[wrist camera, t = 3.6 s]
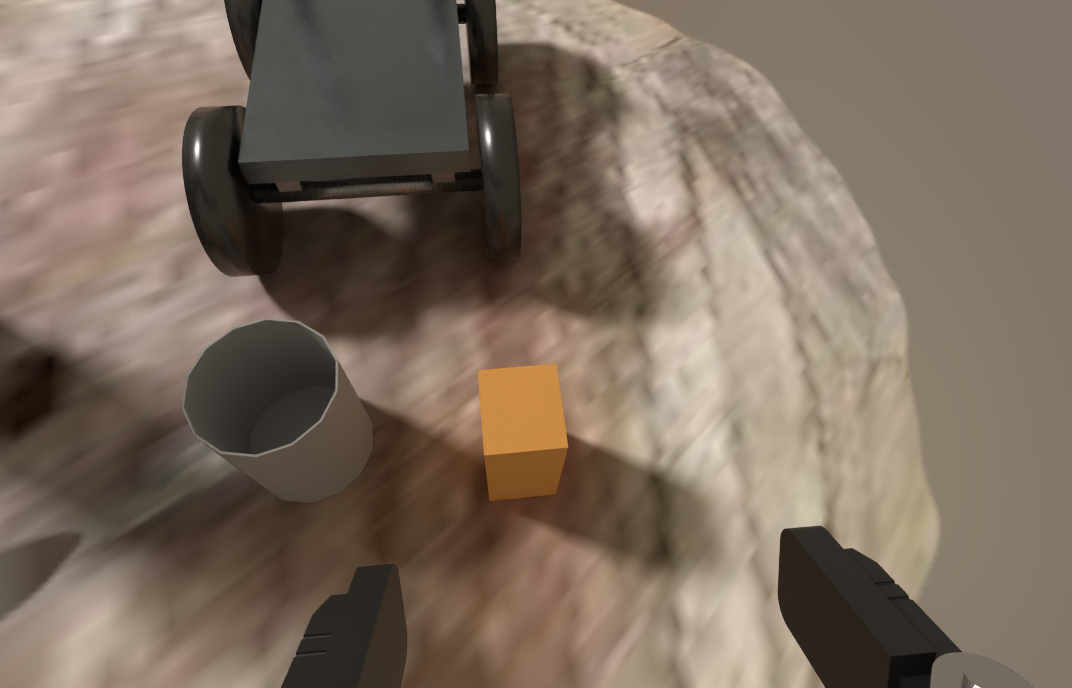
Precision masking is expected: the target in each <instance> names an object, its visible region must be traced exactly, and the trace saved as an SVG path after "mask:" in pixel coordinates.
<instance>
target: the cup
mask: <svg viewBox="0 0 1072 688" xmlns="http://www.w3.org/2000/svg"><path fill="white" fill-rule="evenodd" d="M182 410H183V412H184V415H185V417H186V419H187V422H188V424H189V426H190V429H191V431H192V433H193V435H194V436H195V437H196V438H197V439H199V440H200V441H201V442H203V443H204V444H205V445H207V446H208V447H209V448H211V449H212V450H213V451H215V452H216V453H218V454H219V455H220V456H222V457H223V458H224V459H226V460H227V461H228V462H230V463H231V464H232V465H234V466H235V467H236V468H238V469H239V470H240V471H242V472H243V473H244V474H246V475H247V476H249V477H250V478H251V479H253V480H254V481H255V482H257V483H258V484H259V485H261V486H262V487H264V488H265V489H267V490H268V491H270V492H271V493H273V494H274V495H275V496H277V497H278V498H280V499H281V500H283V501H293V502H304V503H313V502H316V501H319V500H322V499H325V498H327V497H330V496H333V495H336V494H339V493H340V492H341V491H343V490H344V489H345V488H346V487H347V486H348V485H349V484H350V483H351V482H353V481H354V480H355V479H356V478H357V477H358V476H359V475H360V474H361V473H362V471H363V469H364V467H365V465H366V463H367V461H368V458H369V456H370V454H371V452H372V450H373V423H372V421H371V419H370V417H369V416H368V414H367V412H366V410H365V408H364V407H363V405H362V403H361V401H360V399H359V397H358V396H357V394H356V392H355V390H354V388H353V387H352V385H351V383H350V381H349V379H348V378H347V376H346V374H345V372H344V370H343V369H342V367H341V365H340V363H339V361H338V360H337V358H336V356H335V354H334V353H333V351H332V349H331V347H330V346H329V344H328V342H327V340H326V339H325V337H324V336H323V335H322V334H320V333H318V332H316V331H315V330H313V329H311V328H310V327H308V326H306V325H304V324H303V323H301V322H299V321H293V320H283V319H272V318H265V319H261V320H258V321H254V322H251V323H247V324H244V325H240V326H237V327H233V328H232V329H230V330H229V331H228V332H226V333H225V334H223V335H222V336H221V337H219V338H218V339H216V340H215V341H214V342H212V343H211V344H209V345H208V346H207V347H205V348H204V350H203V351H202V353H201V354H200V356H199V357H198V359H197V360H196V362H195V363H194V365H193V366H192V368H191V369H190V371H189V372H188V374H187V375H186V379H185V386H184V394H183V401H182Z"/></svg>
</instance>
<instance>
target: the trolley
mask: <svg viewBox="0 0 1072 688" xmlns="http://www.w3.org/2000/svg"><path fill="white" fill-rule="evenodd" d="M224 2H225V8H226V13H227V18H228V22H229V26H230V30H231V33H232V37H233V40H234V43H235V47H236V50H237V52H238V55H239V58H240V60H241V63H242V65H243V68H244V70H245V72H246V74H247V76H248V78H249V79H250V87H249V93H248V100H247V107H246V108H245V107H242V106H217V107H200V108H197V109H196V110H194V111H193V112H192V114H191V115H190V117H189V119H188V121H187V123H186V127H185V131H184V136H183V146H182V167H183V179H184V186H185V192H186V197H187V202H188V206H189V210H190V214H191V217H192V220H193V224H194V227H195V229H196V232H197V235H198V237H199V239H200V242H201V244H202V246H203V248H204V250H205V251H206V253H207V255H208V257H209V258H210V260H211V261H212V262H213V264H214V265H215V266H216V267H217V268H218V269H219V270H220V271H221V272H222V273H224V274H225V275H228V276H230V277H237V276H251V275H265V274H270V273H272V272H273V271H274V270H275V268H276V267H277V265H278V263H279V260H280V256H281V252H282V245H283V209H282V202H297V201H313V200H330V199H347V198H364V197H380V196H397V195H414V194H430V193H447V192H464V191H481V195H482V207H483V219H484V230H485V240H486V249H487V257H488V259H495V258H510V257H519V256H520V251H521V199H520V179H519V164H518V152H517V140H516V130H515V122H514V114H513V107H512V102H511V97H510V94H509V93H498V94H477V95H475V107H476V126H477V141H478V156H479V169H470V156H469V144H468V132H467V121H466V109H465V97H464V85H463V74H462V62H461V50H460V38H459V27H458V24H466V33H467V46H468V58H469V69H470V79H471V85H485V84H497V80H498V47H497V21H496V3H495V0H464V4H457V3H456V0H224Z"/></svg>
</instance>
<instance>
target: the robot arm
mask: <svg viewBox="0 0 1072 688" xmlns="http://www.w3.org/2000/svg"><path fill="white" fill-rule="evenodd" d="M778 600H779V606H780V610H781V613H782V616H783V619H784V621H785V623H786V625H787V627H788V628H789V630H790V631H791V633H792V635H793V636H794V638H795V640H796V641H797V643H798V644H799V646H800V648H801V649H802V651H803V652H804V654H805V656H806V657H807V659H808V660H809V662H810V664H811V665H812V667H813V668H814V670H815V672H816V673H817V675H818V677H819V678H820V680H821V681H822V683H823V685H824V686H825V688H1033V687H1032V686H1031V685H1030V684H1029V683H1028V681H1027V680H1025V679H1024V678H1023V677H1022V676H1020V675H1019V674H1018V673H1016V672H1015V671H1014V670H1012V669H1010V668H1009V667H1007V666H1005V665H1003V664H1001V663H999V662H997V661H995V660H992V659H990V658H987V657H984V656H980V655H976V654H971V653H963V652H962V651H961V650H960V649H959V648H958V647H957V646H956V645H955V644H954V643H953V642H952V641H951V640H950V639H949V638H948V637H947V636H946V635H945V633H944V632H943V631H942V630H941V629H940V628H939V627H938V626H937V625H936V624H935V623H934V622H933V621H932V620H931V619H930V618H929V617H928V616H927V615H926V614H925V612H924V611H923V610H922V609H921V608H920V607H919V606H918V605H917V604H916V603H915V602H914V601H913V600H910V599H909V596H908V595H907V594H906V593H905V591H904V590H903V589H902V588H901V587H900V586H899V585H898V584H897V585H895V582H894V580H893V579H892V578H891V577H890V576H889V575H888V574H887V573H886V572H885V570H884V569H883V568H882V567H881V566H880V565H879V564H878V563H877V562H875V561H873V560H872V559H870V558H868V557H866V556H865V555H863V554H861V553H860V552H858V551H856V550H855V549H853V548H849V549H843V548H842V547H841V546H840V544H839V543H838V542H837V541H836V540H835V539H834V538H833V537H832V536H831V534H830V533H829V532H828V531H827V530H826V529H825V528H824V527H822V526H811V527H799V528H788V529H784V530H783V531H782V533H781V537H780V555H779V576H778ZM406 655H407V628H406V620H405V614H404V607H403V600H402V593H401V587H400V580H399V573H398V569H397V566H396V565H395V564H387V565H376V566H364V567H358V568H357V570H356V572H355V575H354V577H353V580H352V583H351V585H350V588H349V591H348V593H347V594H342V595H331V596H330V597H329V598H328V599H327V600H326V601H325V602H324V603H323V604H322V605H321V607H320V608H319V609H318V610H317V611H316V612H315V613H314V614H313V615H312V618H311V620H310V622H309V624H308V627H307V629H306V631H305V634H304V639H303V640H301V643H300V645H299V647H298V650H297V652H296V657H294V659H293V661H292V663H291V666H290V668H289V670H288V673H287V675H286V677H285V679H284V682H283V684H282V686H281V688H400V686H401V681H402V677H403V672H404V667H405V662H406Z"/></svg>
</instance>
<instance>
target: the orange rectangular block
mask: <svg viewBox="0 0 1072 688" xmlns="http://www.w3.org/2000/svg"><path fill="white" fill-rule="evenodd" d="M478 381H479V394H480V407H481V420H482V433H483V446H484V458H485V467H486V475H487V484H488V492H489V501H498V500H507V499H517V498H526V497H536V496H546V495H555V494H556V492H557V488H558V484H559V480H560V477H561V473H562V469H563V465H564V462H565V458H566V454H567V450H568V442H567V435H566V428H565V421H564V414H563V407H562V400H561V393H560V386H559V379H558V372H557V365H556V364H548V365H536V366H525V367H513V368H501V369H490V370H478Z"/></svg>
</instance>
